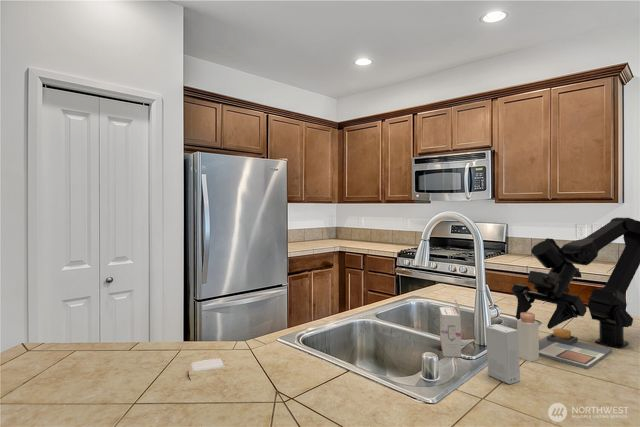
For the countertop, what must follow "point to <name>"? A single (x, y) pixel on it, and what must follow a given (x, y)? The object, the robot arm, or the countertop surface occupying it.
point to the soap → (206, 364)
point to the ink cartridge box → (450, 331)
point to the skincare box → (503, 353)
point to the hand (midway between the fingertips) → (532, 323)
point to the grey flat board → (572, 351)
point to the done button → (562, 333)
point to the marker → (528, 337)
